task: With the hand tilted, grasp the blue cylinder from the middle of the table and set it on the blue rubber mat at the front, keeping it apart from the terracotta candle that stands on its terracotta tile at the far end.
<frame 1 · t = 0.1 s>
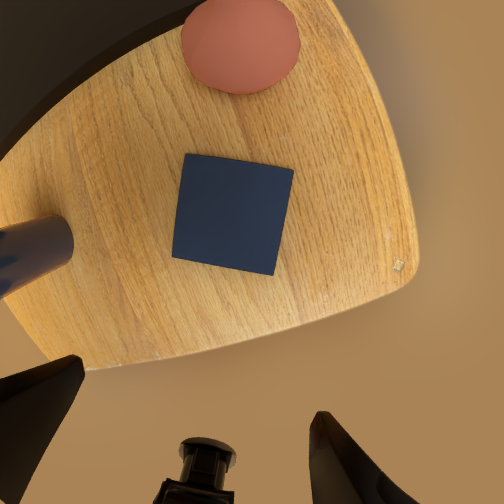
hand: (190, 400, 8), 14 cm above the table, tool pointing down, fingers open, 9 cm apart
blue cylinder: (55, 240, 22), on the table
blue mat: (230, 213, 20), on the table
terracotta bud vase: (245, 64, 18), on the table
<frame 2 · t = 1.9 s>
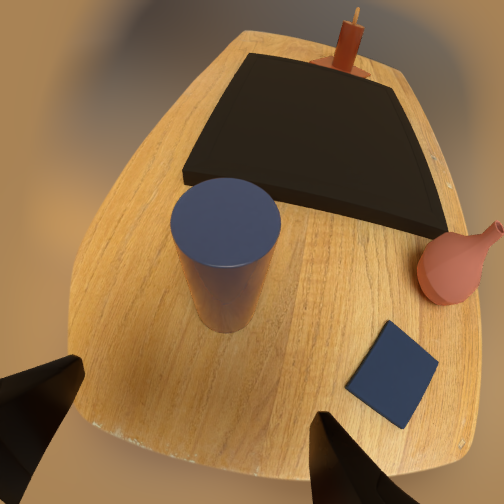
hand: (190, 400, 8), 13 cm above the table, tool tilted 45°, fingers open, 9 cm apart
blue cylinder: (225, 304, 24), on the table
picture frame: (324, 119, 40), on the table
terracotta tile: (341, 68, 54), on the table
blue mat: (395, 375, 22), on the table
terracotta bud vase: (430, 283, 27), on the table
terracotta candle: (341, 67, 54), point 1 cm above the table, touching terracotta tile
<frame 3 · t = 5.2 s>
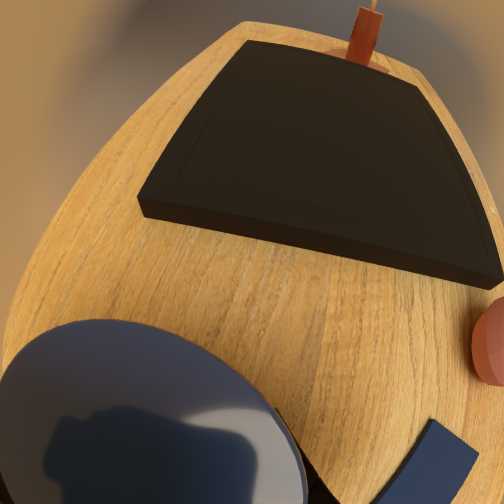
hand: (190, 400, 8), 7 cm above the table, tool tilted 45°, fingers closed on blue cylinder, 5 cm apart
blue cylinder: (200, 419, 13), on the table, touching gripper
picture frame: (344, 119, 30), on the table
terracotta tile: (356, 62, 44), on the table
blue mat: (429, 481, 11), on the table
terracotta bud vase: (480, 352, 16), on the table
terracotta candle: (356, 60, 44), point 1 cm above the table, touching terracotta tile
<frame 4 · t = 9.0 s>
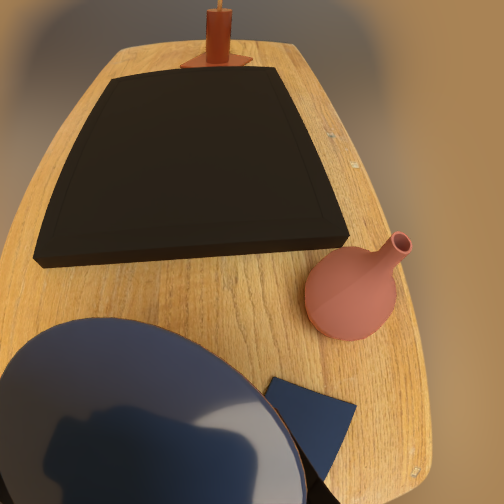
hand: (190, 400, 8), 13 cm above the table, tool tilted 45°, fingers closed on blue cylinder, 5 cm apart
blue cylinder: (200, 419, 13), point 7 cm above the table, touching gripper
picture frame: (185, 133, 36), on the table
terracotta tile: (217, 62, 50), on the table
blue mat: (297, 434, 19), on the table
terracotta bud vase: (333, 309, 25), on the table
terracotta candle: (217, 60, 50), point 1 cm above the table, touching terracotta tile
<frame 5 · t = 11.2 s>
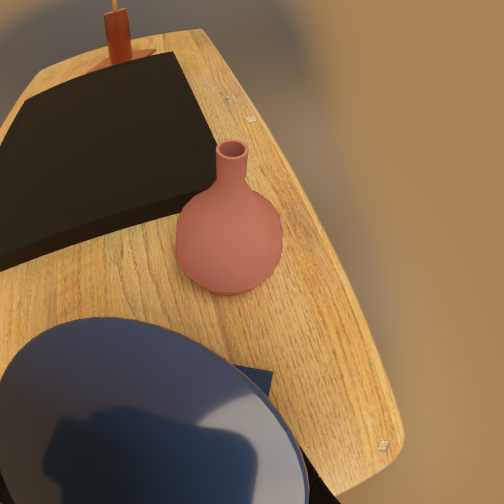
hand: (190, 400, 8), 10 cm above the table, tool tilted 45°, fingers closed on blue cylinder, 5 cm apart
blue cylinder: (200, 419, 13), point 4 cm above the table, touching gripper
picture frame: (84, 131, 31), on the table
terracotta tile: (121, 61, 45), on the table
blue mat: (206, 412, 17), on the table
terracotta bud vase: (228, 265, 23), on the table
terracotta candle: (121, 59, 44), point 1 cm above the table, touching terracotta tile
when the fingers open (7 cm above the table, at t = 12.7 s): blue cylinder stays where it is, resting on blue mat.
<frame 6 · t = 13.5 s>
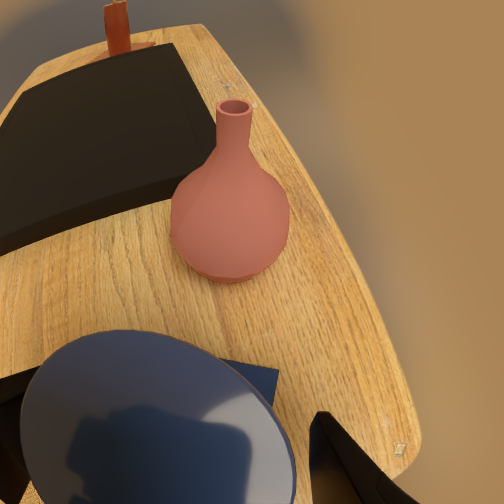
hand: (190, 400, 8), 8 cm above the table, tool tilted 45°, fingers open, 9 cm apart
blue cylinder: (202, 418, 14), point 1 cm above the table, touching blue mat
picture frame: (80, 119, 29), on the table
terracotta tile: (120, 53, 43), on the table
blue mat: (203, 416, 15), on the table
terracotta bud vase: (228, 251, 21), on the table
terracotta candle: (120, 51, 43), point 1 cm above the table, touching terracotta tile
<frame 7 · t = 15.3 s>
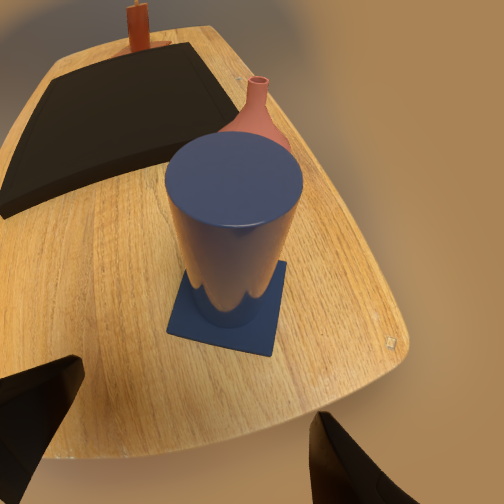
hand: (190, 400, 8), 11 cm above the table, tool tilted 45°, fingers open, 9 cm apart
blue cylinder: (229, 296, 21), point 1 cm above the table, touching blue mat
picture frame: (114, 101, 36), on the table
terracotta tile: (140, 50, 50), on the table
blue mat: (229, 298, 22), on the table
terracotta bud vase: (246, 187, 28), on the table
terracotta candle: (140, 48, 49), point 1 cm above the table, touching terracotta tile
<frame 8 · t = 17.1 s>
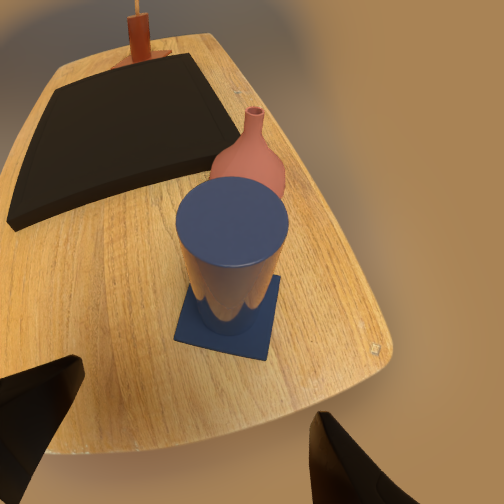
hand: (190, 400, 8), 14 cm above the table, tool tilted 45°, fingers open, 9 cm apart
blue cylinder: (228, 307, 24), point 1 cm above the table, touching blue mat
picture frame: (118, 115, 39), on the table
terracotta tile: (141, 60, 53), on the table
blue mat: (229, 309, 24), on the table
terracotta bud vase: (244, 205, 30), on the table
terracotta candle: (141, 58, 52), point 1 cm above the table, touching terracotta tile
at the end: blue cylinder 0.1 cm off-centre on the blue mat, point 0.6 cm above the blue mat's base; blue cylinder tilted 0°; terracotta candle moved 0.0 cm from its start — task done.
